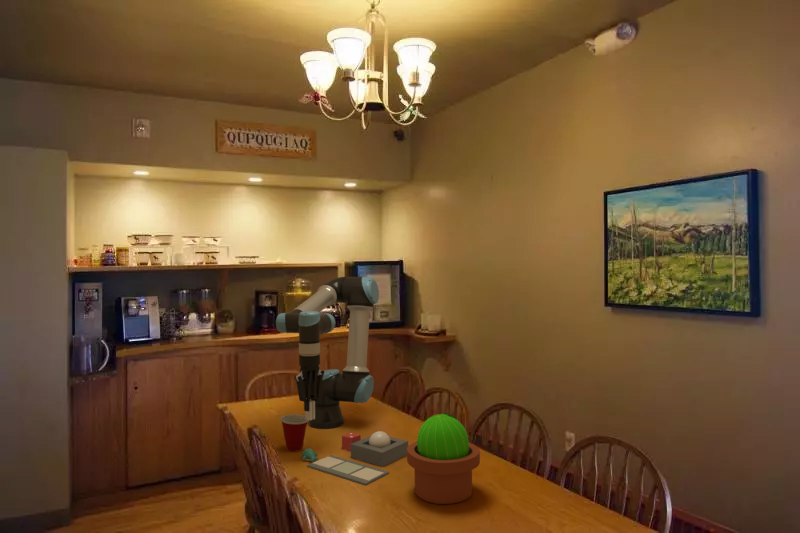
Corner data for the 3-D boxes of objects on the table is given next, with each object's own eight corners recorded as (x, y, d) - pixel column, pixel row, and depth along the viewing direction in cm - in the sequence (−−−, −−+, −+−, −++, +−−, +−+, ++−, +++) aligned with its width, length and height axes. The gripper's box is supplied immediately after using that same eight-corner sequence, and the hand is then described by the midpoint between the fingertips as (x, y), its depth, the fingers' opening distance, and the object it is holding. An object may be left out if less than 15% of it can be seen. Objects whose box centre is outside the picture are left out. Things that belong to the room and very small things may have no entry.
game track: (331, 456, 207) (331, 454, 207) (389, 473, 191) (389, 471, 191) (307, 466, 198) (306, 464, 198) (365, 485, 181) (365, 482, 181)
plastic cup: (303, 454, 209) (303, 422, 209) (276, 452, 212) (275, 421, 211) (313, 445, 220) (313, 414, 220) (287, 443, 222) (287, 412, 222)
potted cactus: (430, 514, 160) (430, 427, 160) (395, 486, 180) (395, 408, 179) (493, 498, 171) (493, 416, 170) (453, 474, 190) (453, 400, 190)
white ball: (378, 448, 213) (378, 427, 213) (395, 452, 208) (394, 430, 208) (364, 454, 207) (364, 432, 206) (381, 458, 202) (381, 436, 202)
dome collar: (377, 446, 218) (376, 433, 218) (408, 454, 209) (408, 441, 209) (350, 457, 206) (350, 444, 206) (382, 466, 197) (382, 452, 197)
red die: (350, 445, 219) (350, 432, 219) (360, 447, 216) (360, 434, 216) (342, 448, 215) (341, 435, 215) (351, 451, 212) (351, 437, 212)
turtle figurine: (313, 455, 209) (313, 445, 209) (322, 461, 203) (322, 451, 202) (298, 459, 205) (298, 448, 205) (307, 465, 199) (307, 454, 199)
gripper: (315, 350, 212) (316, 413, 213) (287, 356, 201) (288, 421, 202) (330, 352, 208) (331, 416, 208) (302, 358, 197) (303, 425, 197)
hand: (310, 419), depth 205 cm, fingers closed
